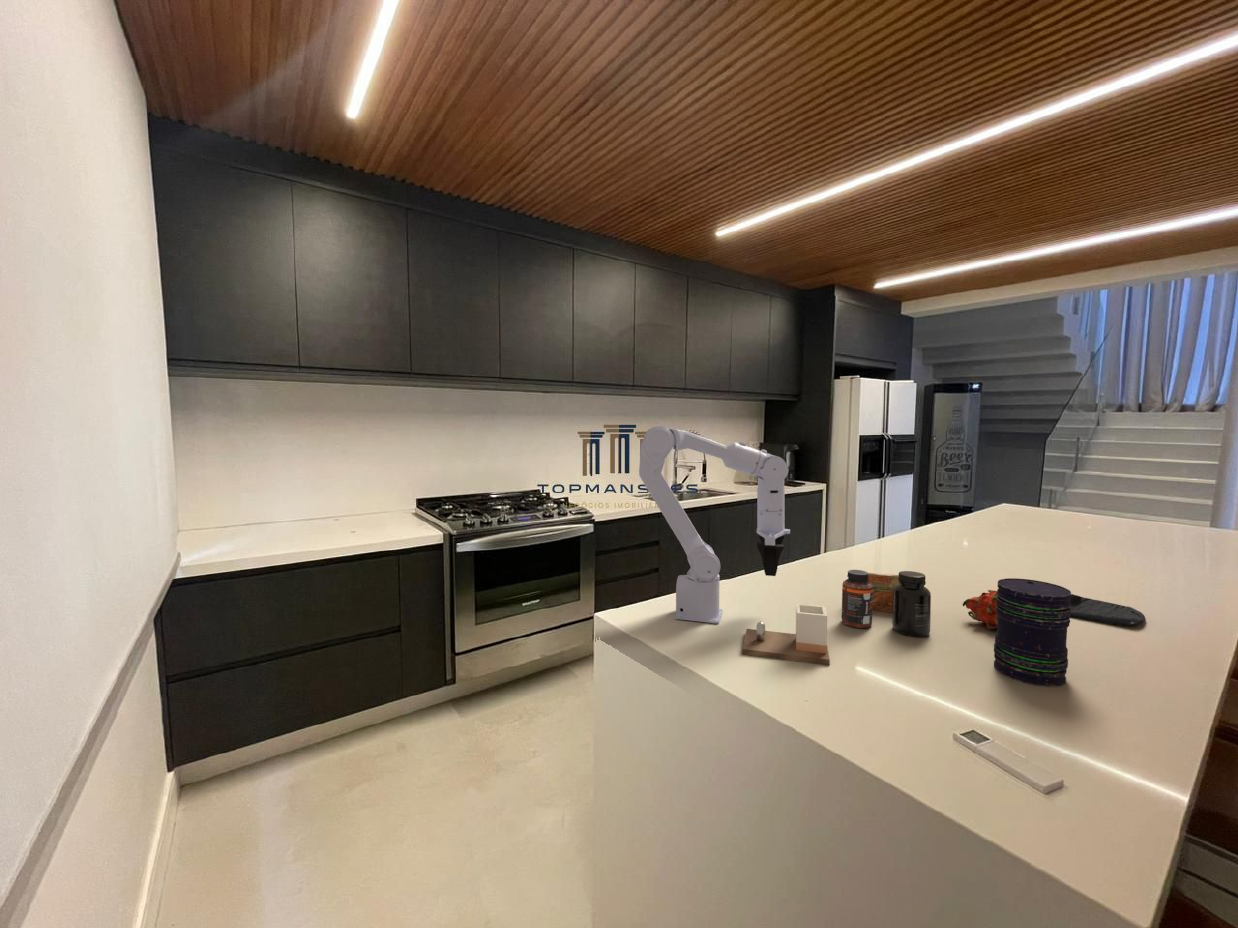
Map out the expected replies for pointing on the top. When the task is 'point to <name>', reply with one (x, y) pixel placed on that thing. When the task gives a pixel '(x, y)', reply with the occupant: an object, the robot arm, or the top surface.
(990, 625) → the dragon fruit
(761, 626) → the steel pin
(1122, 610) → the dark slate chunk
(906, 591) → the supplement bottle
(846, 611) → the supplement bottle
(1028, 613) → the dark blue cylinder
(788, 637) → the board
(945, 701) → the top surface
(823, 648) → the sleeve
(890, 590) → the tin
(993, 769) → the top surface
